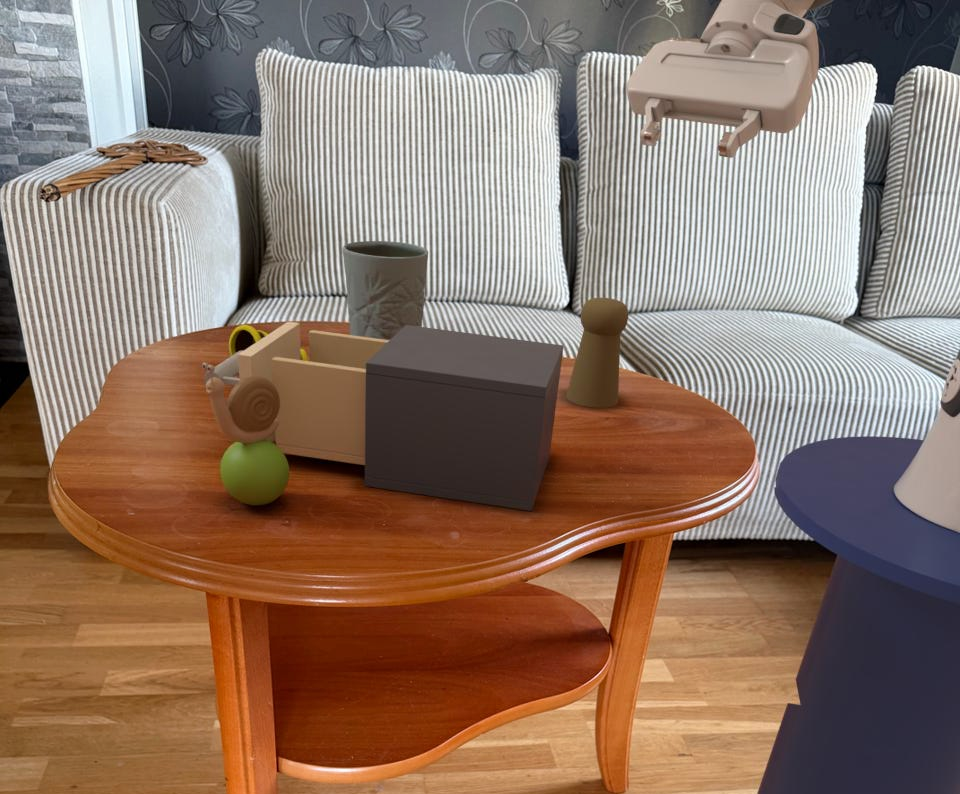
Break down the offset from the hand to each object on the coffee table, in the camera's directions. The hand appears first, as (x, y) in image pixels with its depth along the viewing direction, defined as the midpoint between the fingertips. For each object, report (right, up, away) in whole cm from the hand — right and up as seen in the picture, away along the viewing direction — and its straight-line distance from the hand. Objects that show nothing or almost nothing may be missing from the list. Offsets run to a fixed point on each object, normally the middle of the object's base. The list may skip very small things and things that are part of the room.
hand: (684, 146), depth 98 cm
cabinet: (-24, -38, -15) cm, 47 cm away
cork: (-9, -26, +6) cm, 28 cm away
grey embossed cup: (-34, -17, +15) cm, 41 cm away
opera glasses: (-46, -24, +4) cm, 52 cm away
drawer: (-38, -35, -14) cm, 53 cm away
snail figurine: (-41, -43, -24) cm, 64 cm away
